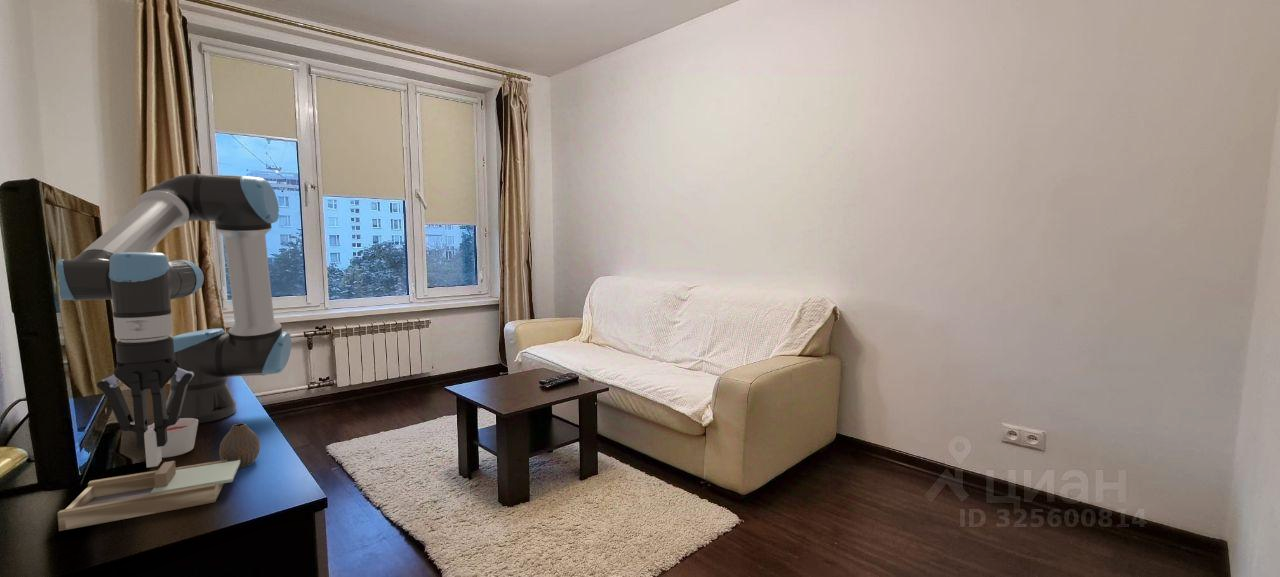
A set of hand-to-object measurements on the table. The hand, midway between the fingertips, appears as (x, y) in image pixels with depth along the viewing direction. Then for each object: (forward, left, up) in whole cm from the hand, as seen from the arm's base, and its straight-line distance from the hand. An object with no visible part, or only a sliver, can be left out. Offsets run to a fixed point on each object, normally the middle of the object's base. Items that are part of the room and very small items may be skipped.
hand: (154, 463), depth 95 cm
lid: (0, +6, -4) cm, 7 cm away
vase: (-11, +11, -7) cm, 17 cm away
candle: (-26, -3, -7) cm, 27 cm away
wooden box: (0, 0, -7) cm, 7 cm away
